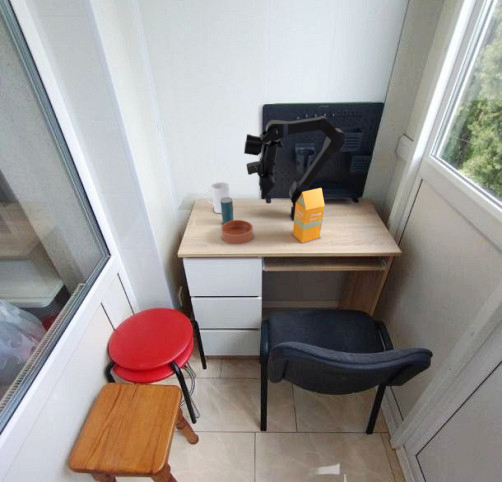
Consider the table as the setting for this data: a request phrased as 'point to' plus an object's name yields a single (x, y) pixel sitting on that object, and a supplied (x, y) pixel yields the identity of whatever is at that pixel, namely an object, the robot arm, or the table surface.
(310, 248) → the table surface
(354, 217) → the table surface
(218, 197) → the mug
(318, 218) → the orange juice
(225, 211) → the can
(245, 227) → the pot
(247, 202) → the table surface
